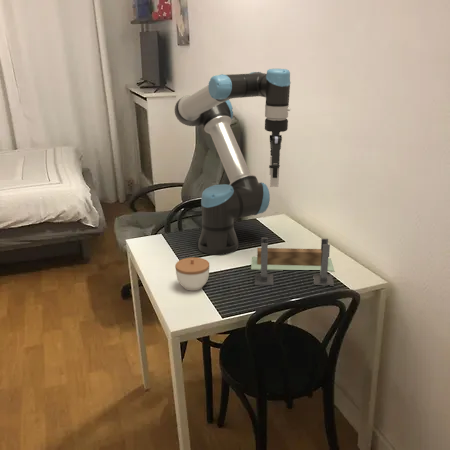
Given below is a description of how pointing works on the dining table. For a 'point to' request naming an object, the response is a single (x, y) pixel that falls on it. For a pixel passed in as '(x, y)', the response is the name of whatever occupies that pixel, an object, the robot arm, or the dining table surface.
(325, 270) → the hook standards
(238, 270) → the dining table surface
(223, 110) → the robot arm
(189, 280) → the lidded jar
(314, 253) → the walnut bar
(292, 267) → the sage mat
